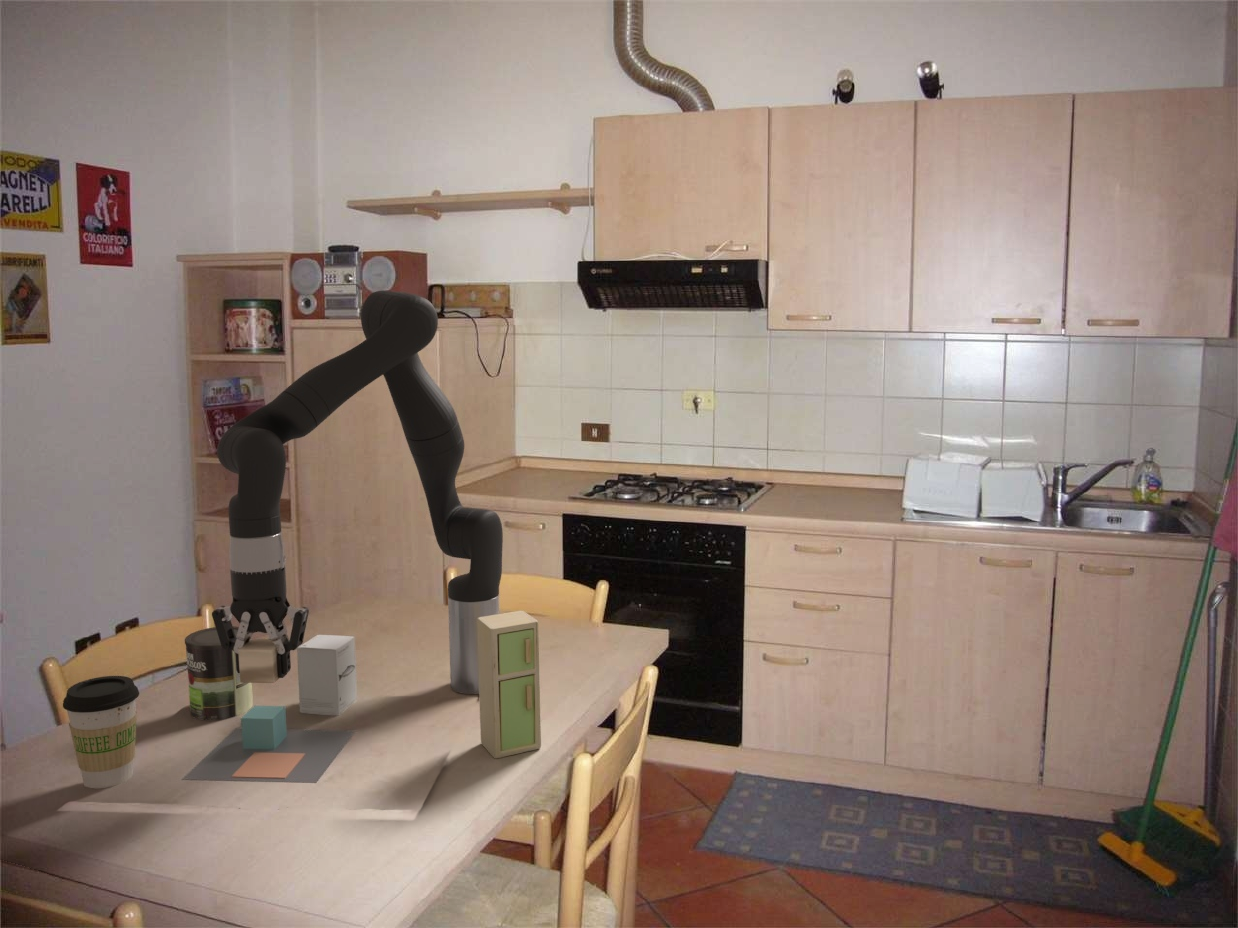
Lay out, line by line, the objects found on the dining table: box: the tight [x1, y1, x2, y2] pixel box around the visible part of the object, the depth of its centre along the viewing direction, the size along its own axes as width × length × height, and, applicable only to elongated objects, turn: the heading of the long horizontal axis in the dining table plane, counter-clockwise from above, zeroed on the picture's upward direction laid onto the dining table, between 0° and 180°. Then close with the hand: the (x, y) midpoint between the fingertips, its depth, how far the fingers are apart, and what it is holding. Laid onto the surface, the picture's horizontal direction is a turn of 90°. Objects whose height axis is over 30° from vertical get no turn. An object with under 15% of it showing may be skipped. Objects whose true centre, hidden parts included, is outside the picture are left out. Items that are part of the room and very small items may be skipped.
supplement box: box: [296, 634, 358, 716], centre depth 170 cm, size 7×7×13 cm
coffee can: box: [184, 625, 254, 721], centre depth 169 cm, size 10×10×14 cm
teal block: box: [240, 705, 288, 749], centre depth 156 cm, size 5×5×5 cm
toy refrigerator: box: [477, 610, 542, 759], centre depth 155 cm, size 8×7×21 cm
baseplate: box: [181, 727, 357, 784], centre depth 152 cm, size 20×18×1 cm
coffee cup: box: [62, 675, 140, 789], centre depth 143 cm, size 10×10×15 cm
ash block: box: [238, 638, 280, 684], centre depth 145 cm, size 5×5×5 cm
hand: (264, 675), depth 146 cm, fingers closed on ash block, 5 cm apart
